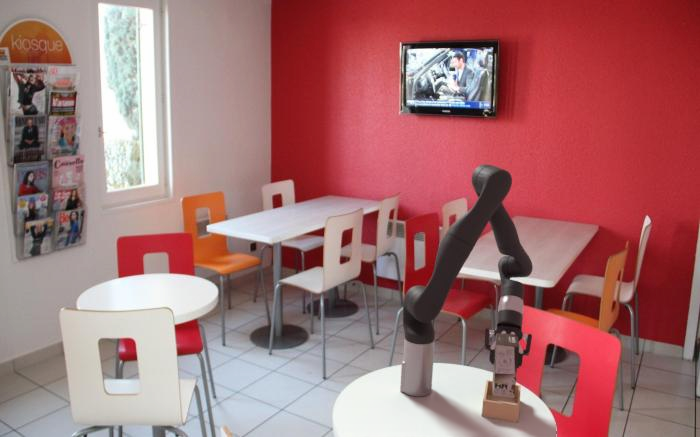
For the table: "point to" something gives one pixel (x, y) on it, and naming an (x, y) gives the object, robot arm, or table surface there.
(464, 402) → the table surface
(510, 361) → the coffee box
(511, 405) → the open box
